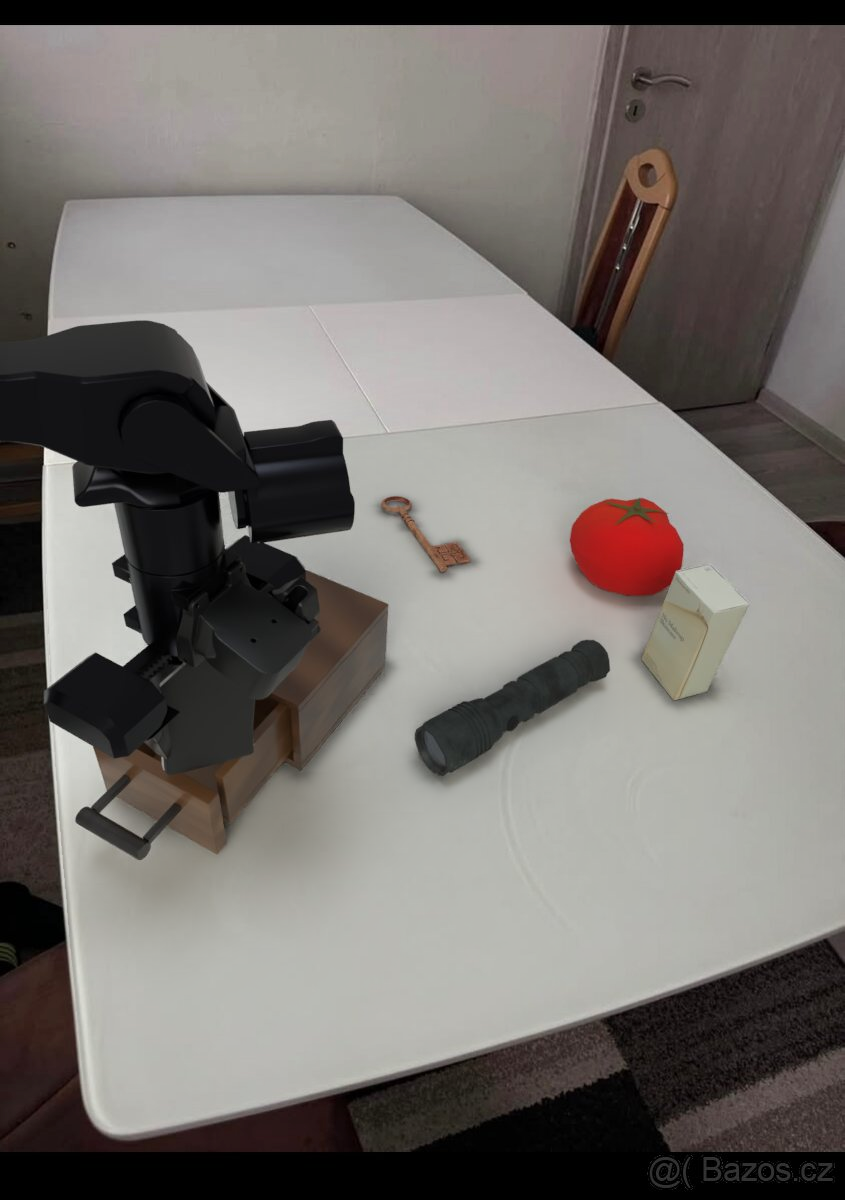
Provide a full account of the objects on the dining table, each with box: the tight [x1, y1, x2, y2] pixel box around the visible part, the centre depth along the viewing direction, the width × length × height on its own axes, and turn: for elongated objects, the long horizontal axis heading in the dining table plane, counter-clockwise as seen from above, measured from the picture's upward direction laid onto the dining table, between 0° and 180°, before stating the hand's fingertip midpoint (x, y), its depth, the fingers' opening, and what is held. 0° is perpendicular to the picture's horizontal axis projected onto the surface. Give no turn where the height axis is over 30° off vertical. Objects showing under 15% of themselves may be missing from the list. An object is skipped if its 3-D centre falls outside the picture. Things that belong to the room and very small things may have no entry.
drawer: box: [74, 697, 293, 861], centre depth 66 cm, size 18×11×7 cm, turn 152°
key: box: [380, 495, 472, 573], centre depth 98 cm, size 6×1×15 cm
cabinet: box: [268, 569, 389, 771], centre depth 75 cm, size 15×13×9 cm
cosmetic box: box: [641, 562, 751, 701], centre depth 79 cm, size 6×4×12 cm
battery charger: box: [160, 657, 255, 775], centre depth 58 cm, size 7×4×11 cm, turn 115°
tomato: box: [569, 497, 685, 597], centre depth 91 cm, size 11×13×10 cm
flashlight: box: [414, 639, 611, 777], centre depth 75 cm, size 5×21×5 cm, turn 127°
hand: (201, 718), depth 58 cm, fingers closed on battery charger, 7 cm apart
